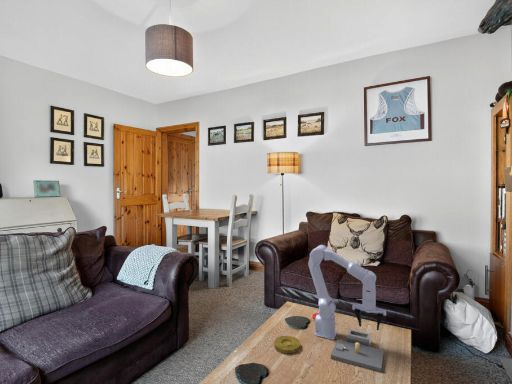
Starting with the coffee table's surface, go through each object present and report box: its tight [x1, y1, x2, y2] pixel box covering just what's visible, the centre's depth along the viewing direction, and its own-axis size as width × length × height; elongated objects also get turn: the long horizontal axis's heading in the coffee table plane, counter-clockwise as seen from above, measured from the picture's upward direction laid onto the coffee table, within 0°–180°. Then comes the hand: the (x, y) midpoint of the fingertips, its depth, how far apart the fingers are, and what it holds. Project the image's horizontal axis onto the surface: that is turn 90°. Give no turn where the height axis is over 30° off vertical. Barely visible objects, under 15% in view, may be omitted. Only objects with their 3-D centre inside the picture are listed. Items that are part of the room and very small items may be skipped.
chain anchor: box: [336, 343, 348, 351], centre depth 128 cm, size 5×4×1 cm
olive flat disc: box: [273, 335, 301, 355], centre depth 133 cm, size 12×12×2 cm
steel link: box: [346, 328, 372, 347], centre depth 136 cm, size 10×6×4 cm, turn 62°
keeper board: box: [330, 338, 385, 373], centre depth 125 cm, size 20×14×6 cm
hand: (368, 327), depth 133 cm, fingers open, 7 cm apart
